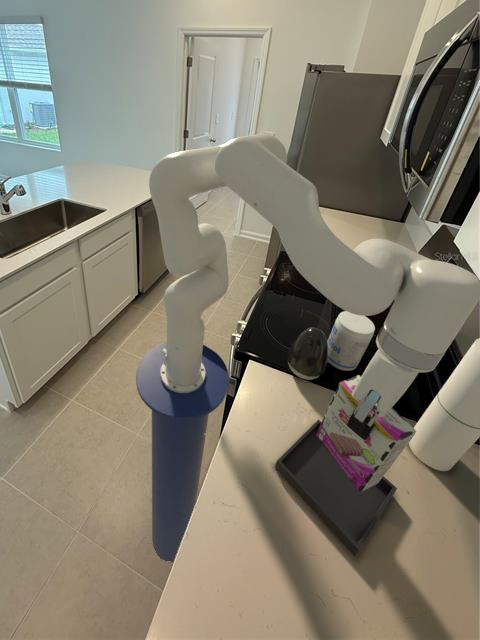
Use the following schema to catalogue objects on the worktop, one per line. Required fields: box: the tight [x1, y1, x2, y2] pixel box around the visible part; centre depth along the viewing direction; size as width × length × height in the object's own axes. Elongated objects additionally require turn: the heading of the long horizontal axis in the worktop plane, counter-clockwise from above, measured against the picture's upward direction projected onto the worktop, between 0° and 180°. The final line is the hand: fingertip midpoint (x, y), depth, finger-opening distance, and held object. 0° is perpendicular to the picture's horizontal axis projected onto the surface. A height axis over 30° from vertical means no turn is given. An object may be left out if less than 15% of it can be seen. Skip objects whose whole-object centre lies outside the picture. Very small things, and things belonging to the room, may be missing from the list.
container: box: [408, 337, 480, 472], centre depth 62 cm, size 9×9×30 cm
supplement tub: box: [327, 310, 376, 372], centre depth 87 cm, size 10×10×15 cm
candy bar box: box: [316, 374, 416, 493], centre depth 54 cm, size 11×5×16 cm, turn 23°
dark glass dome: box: [286, 326, 328, 381], centre depth 82 cm, size 10×10×15 cm
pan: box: [274, 419, 398, 557], centre depth 62 cm, size 17×15×3 cm
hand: (366, 420), depth 52 cm, fingers closed on candy bar box, 5 cm apart
